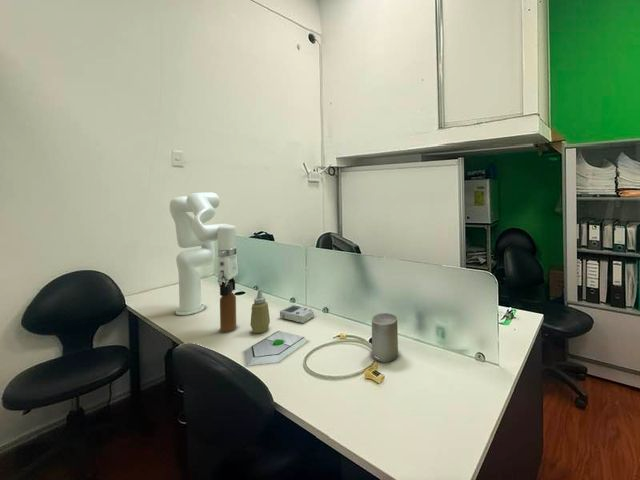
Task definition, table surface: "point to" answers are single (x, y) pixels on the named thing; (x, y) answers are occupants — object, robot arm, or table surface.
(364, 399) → the table surface
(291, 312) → the handheld gaming device
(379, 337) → the pillar candle
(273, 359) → the security device
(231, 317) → the bottle
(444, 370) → the table surface
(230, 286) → the cap
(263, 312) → the squeeze bottle
